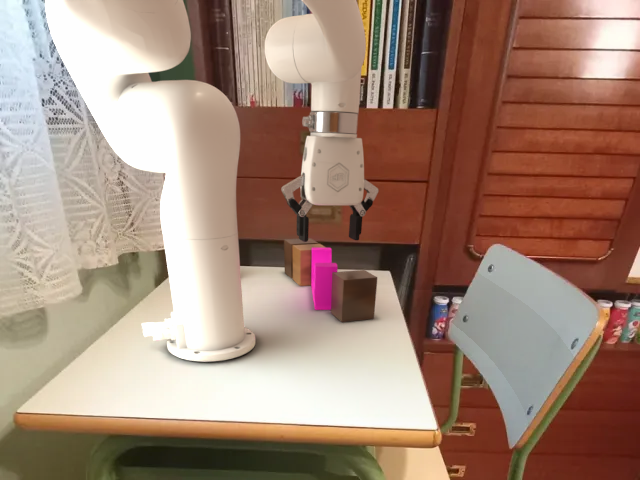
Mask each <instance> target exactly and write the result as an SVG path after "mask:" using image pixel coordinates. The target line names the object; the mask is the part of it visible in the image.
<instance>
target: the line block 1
mask: <svg viewBox="0 0 640 480" xmlns="http://www.w3.org/2000/svg"><path fill="white" fill-rule="evenodd" d="M306 244H319V242H318V241H316V240H315V239H313V238H311V237H308V241H307V242H303V241H302V240H300V239H299V238H285V239H283V254H284V255H283V256H284V257H283V259H284V260H283V261H284V262H283V263H284V264H283V265H284V273H285V275H287V276H288V277H289V278H290V279H293V245H306Z"/></svg>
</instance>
